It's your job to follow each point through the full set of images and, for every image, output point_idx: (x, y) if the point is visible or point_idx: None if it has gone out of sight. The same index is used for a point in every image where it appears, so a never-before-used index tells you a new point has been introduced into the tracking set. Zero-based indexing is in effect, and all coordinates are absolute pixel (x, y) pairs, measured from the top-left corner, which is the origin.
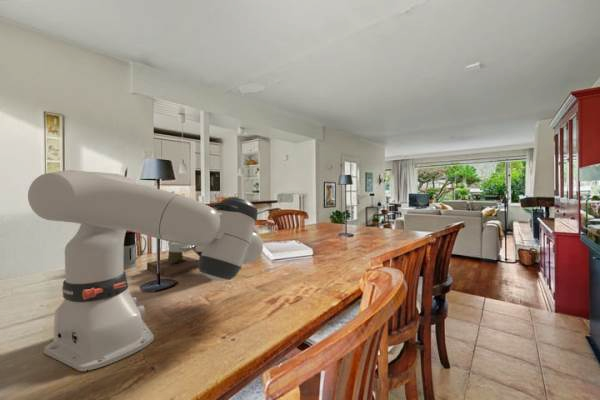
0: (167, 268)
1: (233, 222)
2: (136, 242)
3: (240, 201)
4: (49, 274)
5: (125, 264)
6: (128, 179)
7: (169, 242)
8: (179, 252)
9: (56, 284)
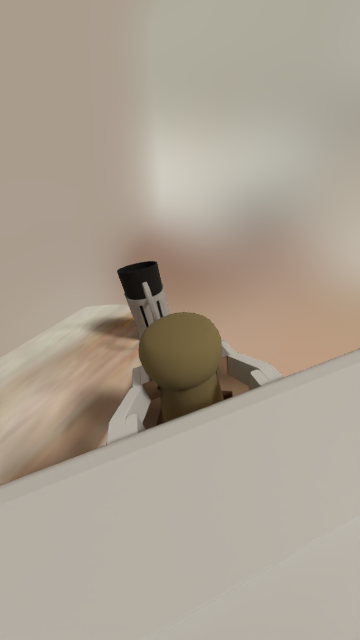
0: None
1: None
2: (145, 295)
3: None
4: (103, 311)
5: (142, 333)
6: None
7: (133, 374)
8: None
9: (58, 344)
